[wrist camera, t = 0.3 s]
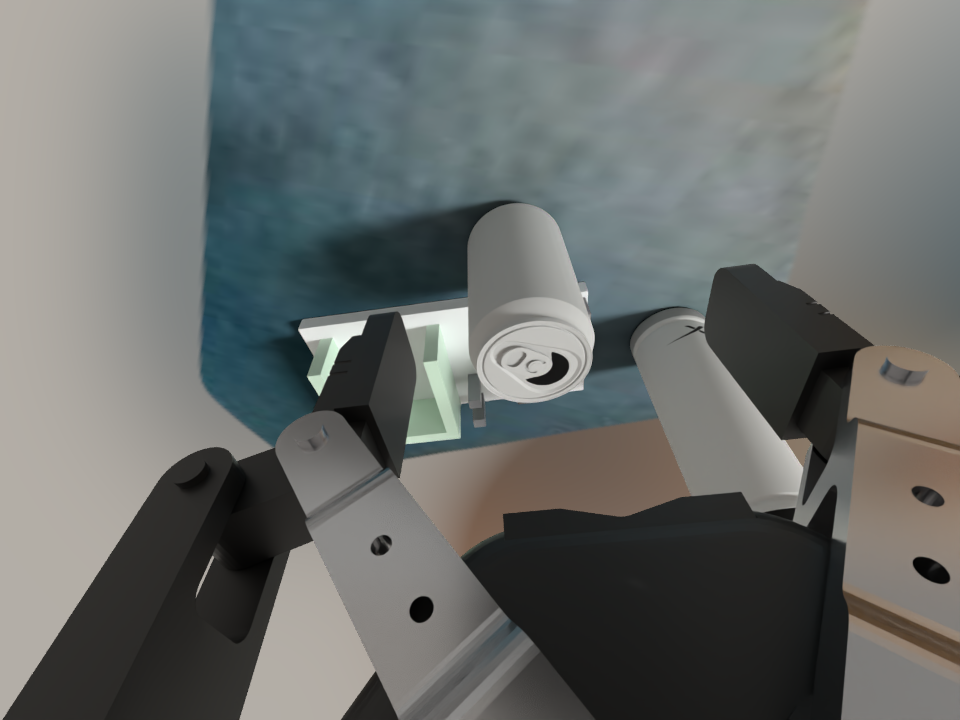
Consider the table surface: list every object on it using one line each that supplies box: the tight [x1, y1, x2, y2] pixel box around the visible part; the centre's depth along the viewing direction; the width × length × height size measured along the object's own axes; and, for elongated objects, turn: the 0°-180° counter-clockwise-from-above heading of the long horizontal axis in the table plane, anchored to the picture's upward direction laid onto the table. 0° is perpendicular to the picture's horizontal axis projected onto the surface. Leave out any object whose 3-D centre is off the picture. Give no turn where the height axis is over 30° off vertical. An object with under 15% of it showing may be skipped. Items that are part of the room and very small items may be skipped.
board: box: [298, 282, 591, 427], centre depth 34 cm, size 11×22×4 cm, turn 98°
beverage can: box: [467, 203, 595, 403], centre depth 25 cm, size 6×6×12 cm
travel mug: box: [630, 308, 803, 521], centre depth 28 cm, size 6×7×20 cm
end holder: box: [307, 324, 461, 444], centre depth 34 cm, size 10×10×4 cm
